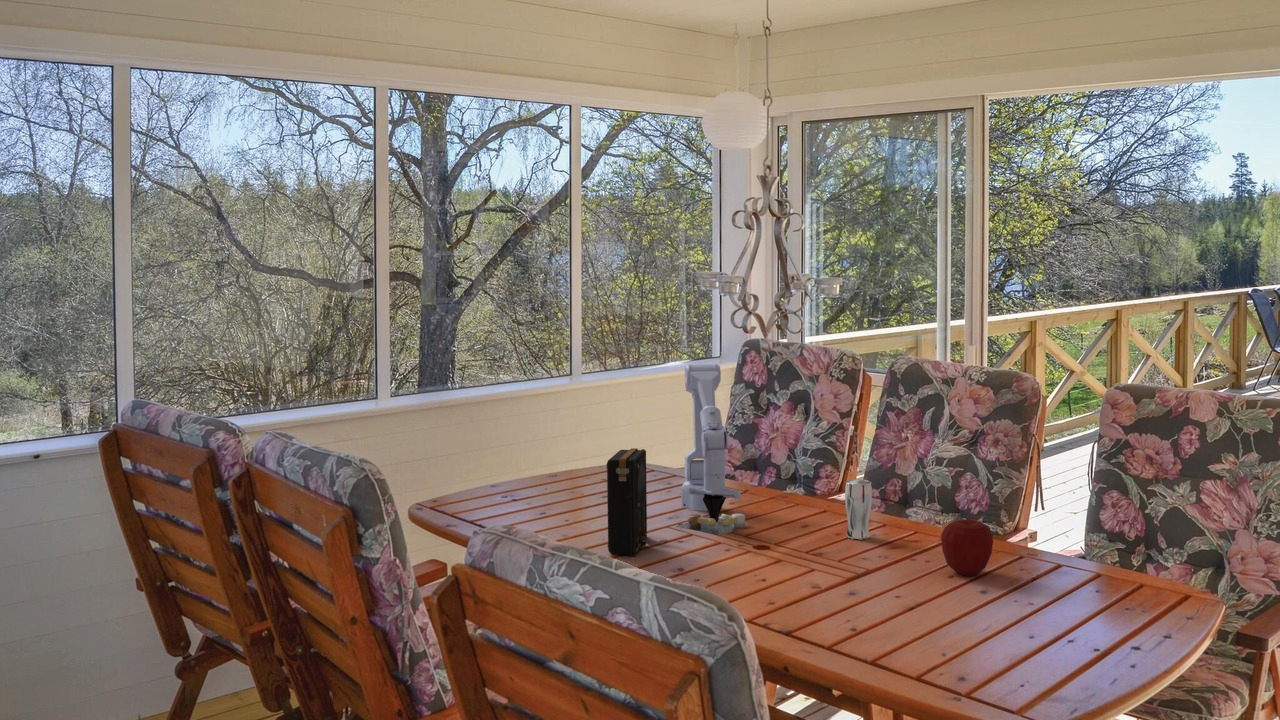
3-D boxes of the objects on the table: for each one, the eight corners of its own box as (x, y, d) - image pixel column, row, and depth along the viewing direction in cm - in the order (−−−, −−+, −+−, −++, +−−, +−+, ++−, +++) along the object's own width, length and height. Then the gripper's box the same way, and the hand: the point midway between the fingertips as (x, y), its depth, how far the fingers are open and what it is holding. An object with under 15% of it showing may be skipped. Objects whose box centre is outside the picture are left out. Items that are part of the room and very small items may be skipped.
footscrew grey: (736, 523, 283) (736, 511, 283) (747, 525, 281) (747, 513, 281) (717, 530, 277) (717, 518, 276) (728, 532, 274) (728, 520, 274)
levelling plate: (676, 530, 281) (676, 526, 281) (706, 520, 292) (706, 516, 292) (720, 540, 271) (720, 535, 271) (750, 529, 282) (750, 524, 282)
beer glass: (841, 538, 271) (841, 483, 270) (848, 532, 277) (849, 478, 276) (867, 542, 268) (867, 485, 267) (874, 535, 274) (875, 480, 273)
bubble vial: (717, 521, 285) (717, 514, 285) (722, 520, 287) (722, 512, 287) (729, 524, 283) (729, 516, 283) (734, 522, 285) (734, 514, 284)
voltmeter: (639, 557, 256) (637, 459, 254) (605, 556, 258) (604, 458, 255) (650, 540, 271) (649, 448, 269) (619, 539, 273) (617, 447, 271)
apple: (952, 562, 249) (953, 509, 248) (999, 571, 242) (1001, 516, 241) (932, 574, 240) (933, 519, 239) (980, 584, 233) (982, 527, 231)
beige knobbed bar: (685, 526, 280) (685, 515, 280) (693, 524, 283) (693, 512, 283) (711, 532, 275) (711, 520, 274) (719, 529, 277) (719, 517, 277)
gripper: (684, 473, 278) (684, 522, 279) (734, 478, 272) (734, 528, 273) (694, 468, 284) (694, 516, 286) (743, 473, 278) (743, 522, 279)
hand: (714, 522), depth 280 cm, fingers closed
